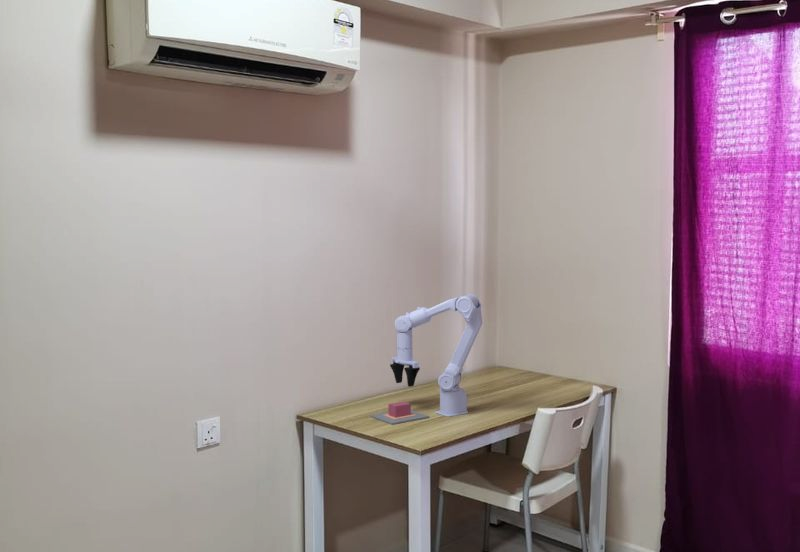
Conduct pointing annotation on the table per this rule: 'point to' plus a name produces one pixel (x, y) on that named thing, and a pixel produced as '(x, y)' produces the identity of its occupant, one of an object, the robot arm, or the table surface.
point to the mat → (392, 420)
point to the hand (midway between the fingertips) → (404, 384)
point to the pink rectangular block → (399, 409)
